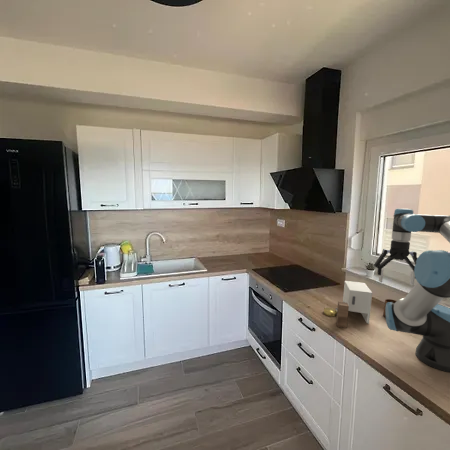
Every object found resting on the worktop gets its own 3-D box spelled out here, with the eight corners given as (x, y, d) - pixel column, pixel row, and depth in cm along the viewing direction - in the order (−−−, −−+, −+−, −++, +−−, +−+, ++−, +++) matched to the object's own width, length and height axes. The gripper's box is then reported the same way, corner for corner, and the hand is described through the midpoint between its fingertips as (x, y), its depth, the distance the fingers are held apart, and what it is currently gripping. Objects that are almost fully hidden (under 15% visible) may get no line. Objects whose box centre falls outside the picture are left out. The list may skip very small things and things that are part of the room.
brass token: (339, 316, 146) (339, 312, 146) (327, 317, 145) (328, 313, 145) (332, 311, 153) (332, 307, 153) (321, 311, 152) (321, 307, 152)
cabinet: (369, 324, 138) (372, 293, 136) (347, 320, 141) (350, 290, 139) (362, 310, 154) (364, 282, 152) (342, 308, 157) (344, 280, 155)
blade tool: (346, 328, 134) (348, 306, 132) (337, 326, 135) (339, 304, 133) (340, 311, 152) (342, 292, 151) (332, 310, 153) (334, 291, 152)
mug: (394, 312, 154) (395, 297, 153) (406, 318, 147) (408, 302, 146) (379, 315, 149) (381, 299, 148) (392, 321, 142) (394, 305, 141)
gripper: (426, 241, 124) (421, 283, 126) (369, 237, 130) (365, 277, 133) (434, 243, 117) (429, 288, 119) (374, 239, 123) (370, 282, 125)
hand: (395, 283), depth 126 cm, fingers open, 13 cm apart
